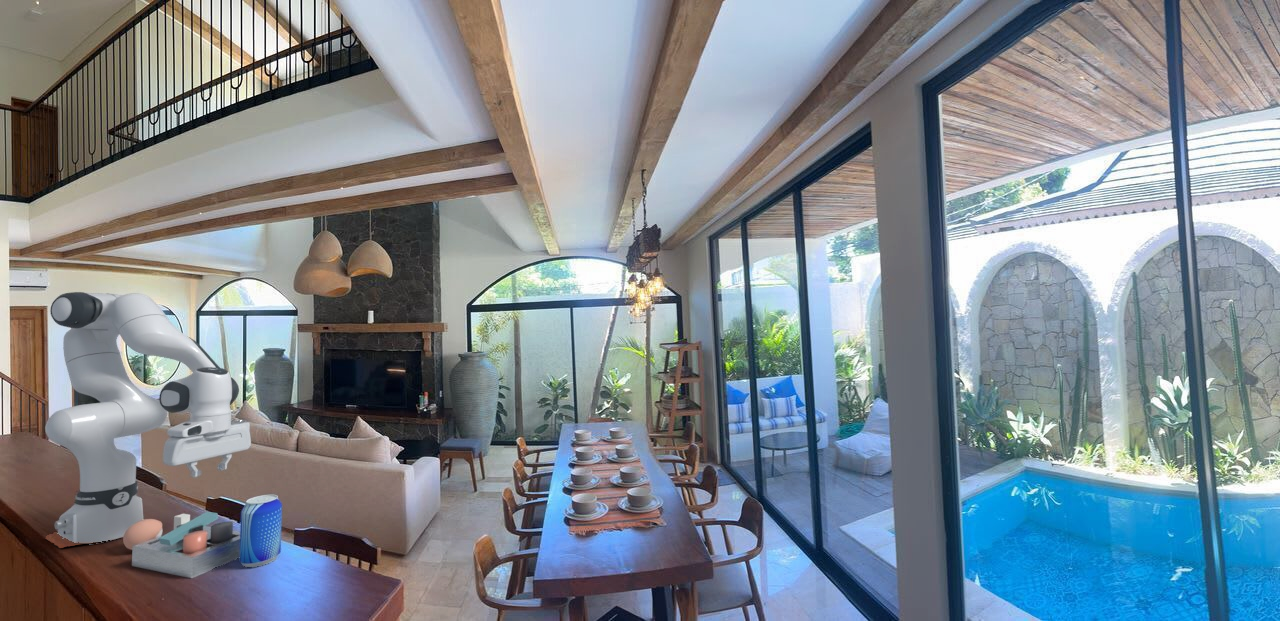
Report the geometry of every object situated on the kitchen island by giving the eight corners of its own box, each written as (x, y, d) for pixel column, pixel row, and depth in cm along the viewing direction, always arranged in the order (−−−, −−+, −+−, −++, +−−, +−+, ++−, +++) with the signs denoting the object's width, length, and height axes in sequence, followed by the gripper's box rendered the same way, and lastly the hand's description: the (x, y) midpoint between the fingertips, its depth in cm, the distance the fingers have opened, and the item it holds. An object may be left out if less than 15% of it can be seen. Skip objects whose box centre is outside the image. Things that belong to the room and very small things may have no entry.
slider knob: (173, 532, 130) (174, 516, 130) (182, 529, 131) (183, 513, 132) (180, 534, 129) (181, 517, 129) (189, 531, 131) (190, 514, 131)
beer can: (257, 570, 119) (259, 505, 120) (230, 567, 121) (232, 503, 122) (288, 555, 128) (290, 494, 128) (262, 552, 129) (264, 492, 130)
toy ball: (171, 544, 134) (172, 515, 135) (137, 557, 127) (138, 526, 127) (148, 542, 136) (149, 513, 136) (114, 554, 128) (115, 524, 128)
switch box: (131, 565, 122) (133, 532, 122) (196, 542, 135) (197, 512, 136) (191, 578, 116) (192, 543, 116) (252, 552, 129) (253, 520, 130)
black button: (205, 550, 125) (206, 527, 125) (224, 543, 129) (225, 520, 129) (217, 552, 124) (218, 529, 124) (236, 545, 128) (237, 522, 128)
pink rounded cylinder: (178, 561, 119) (178, 536, 119) (198, 553, 123) (199, 529, 124) (190, 563, 118) (191, 538, 118) (210, 555, 122) (211, 531, 122)
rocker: (160, 543, 122) (158, 538, 122) (208, 516, 132) (206, 511, 132) (171, 545, 121) (169, 540, 121) (218, 518, 131) (217, 513, 131)
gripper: (242, 417, 148) (240, 462, 147) (159, 431, 128) (157, 483, 128) (257, 418, 146) (255, 464, 146) (175, 432, 127) (174, 485, 126)
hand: (209, 473), depth 137 cm, fingers open, 5 cm apart
